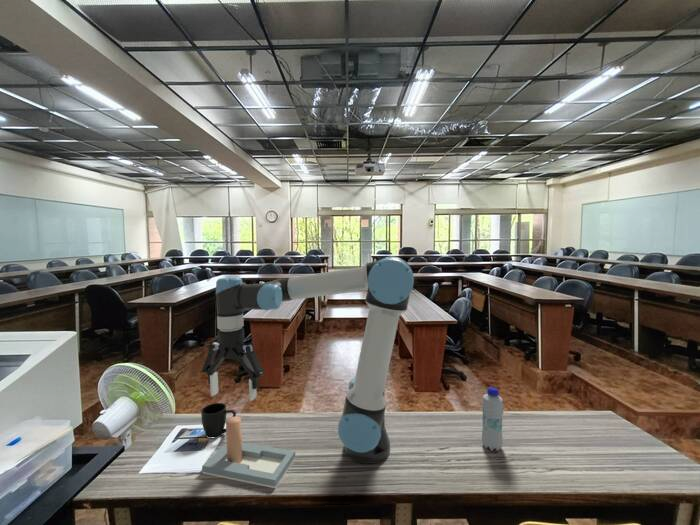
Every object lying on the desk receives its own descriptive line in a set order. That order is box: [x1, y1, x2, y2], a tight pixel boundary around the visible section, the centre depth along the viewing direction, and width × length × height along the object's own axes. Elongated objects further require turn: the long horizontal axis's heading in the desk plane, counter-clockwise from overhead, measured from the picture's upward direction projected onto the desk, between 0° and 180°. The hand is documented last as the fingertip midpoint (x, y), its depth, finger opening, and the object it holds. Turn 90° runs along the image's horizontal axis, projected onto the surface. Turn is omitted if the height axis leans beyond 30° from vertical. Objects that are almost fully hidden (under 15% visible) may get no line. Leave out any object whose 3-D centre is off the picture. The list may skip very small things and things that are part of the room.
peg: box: [225, 416, 243, 463], centre depth 100 cm, size 4×4×13 cm
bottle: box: [481, 386, 505, 452], centre depth 106 cm, size 7×7×20 cm
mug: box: [200, 402, 237, 438], centre depth 115 cm, size 8×12×10 cm
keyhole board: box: [201, 441, 296, 489], centre depth 98 cm, size 24×13×2 cm, turn 75°
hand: (233, 396), depth 99 cm, fingers open, 13 cm apart
